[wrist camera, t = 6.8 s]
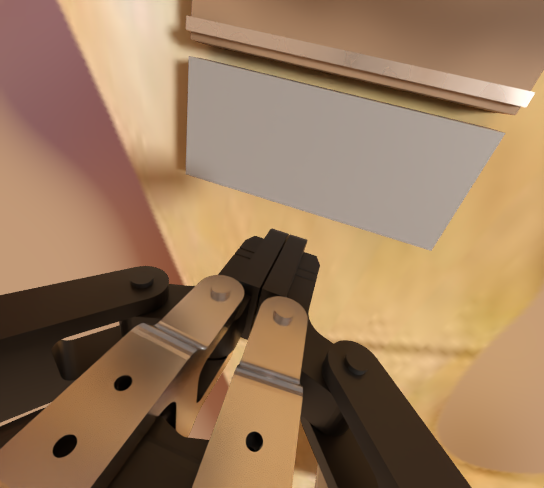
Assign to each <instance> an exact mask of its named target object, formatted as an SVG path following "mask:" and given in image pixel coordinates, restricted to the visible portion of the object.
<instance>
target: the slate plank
mask: <svg viewBox="0 0 544 488" xmlns="http://www.w3.org/2000/svg"><path fill="white" fill-rule="evenodd" d="M504 135H505V133H503V132H500V131H497V130H494V129H491V128H487V127H483V126H479V125H474V124H470V123H466V122H462V121H458V120H454V119H450V118H446V117H442V116H437V115H433V114H429V113H425V112H421V111H417V110H413V109H409V108H405V107H400V106H396V105H392V104H388V103H384V102H380V101H376V100H372V99H368V98H363V97H359V96H355V95H351V94H347V93H343V92H339V91H335V90H330V89H326V88H322V87H318V86H314V85H310V84H306V83H302V82H298V81H293V80H289V79H285V78H281V77H277V76H273V75H269V74H265V73H261V72H256V71H252V70H248V69H244V68H240V67H236V66H232V65H228V64H224V63H219V62H215V61H211V60H207V59H202V58H196V57H191V56H189V71H188V108H187V146H186V174H187V175H190V176H193V177H197V178H200V179H203V180H206V181H209V182H213V183H216V184H219V185H222V186H225V187H229V188H232V189H235V190H238V191H241V192H245V193H248V194H251V195H254V196H257V197H261V198H264V199H267V200H270V201H273V202H277V203H280V204H283V205H286V206H290V207H293V208H296V209H299V210H302V211H306V212H309V213H312V214H315V215H318V216H322V217H325V218H328V219H331V220H334V221H338V222H341V223H344V224H347V225H350V226H354V227H357V228H360V229H363V230H366V231H370V232H373V233H376V234H379V235H382V236H386V237H389V238H392V239H395V240H399V241H402V242H405V243H408V244H411V245H415V246H418V247H421V248H424V249H427V250H432V249H433V247H434V246H435V244H436V242H437V241H438V239H439V238H440V236H441V235H442V233H443V231H444V230H445V228H446V227H447V225H448V223H449V222H450V220H451V219H452V217H453V216H454V214H455V212H456V211H457V209H458V208H459V206H460V204H461V203H462V201H463V200H464V198H465V197H466V195H467V193H468V192H469V190H470V189H471V187H472V185H473V184H474V182H475V181H476V179H477V177H478V176H479V174H480V173H481V171H482V170H483V168H484V166H485V165H486V163H487V162H488V160H489V158H490V157H491V155H492V154H493V152H494V151H495V149H496V147H497V146H498V144H499V143H500V141H501V139H502V138H503V136H504Z"/></svg>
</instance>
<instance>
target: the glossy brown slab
mask: <svg viewBox="0 0 544 488" xmlns="http://www.w3.org/2000/svg"><path fill="white" fill-rule="evenodd" d="M186 30H188V31H191V38H190V39H191V40H194V41H197V42H200V43H203V44H207V45H210V46H215V47H219V48H223V49H227V50H232V51H236V52H240V53H244V54H249V55H253V56H257V57H262V58H266V59H270V60H274V61H279V62H283V63H287V64H291V65H296V66H300V67H304V68H308V69H313V70H317V71H321V72H325V73H330V74H334V75H338V76H342V77H347V78H351V79H355V80H360V81H364V82H368V83H372V84H377V85H381V86H385V87H389V88H394V89H398V90H402V91H406V92H411V93H415V94H419V95H423V96H428V97H432V98H436V99H440V100H445V101H449V102H453V103H458V104H462V105H466V106H470V107H475V108H479V109H483V110H487V111H492V112H496V113H502V114H510V115H516V114H517V112H518V110H519V109H520V107H527V105H528V104H529V102H530V100H531V99H532V97H533V96H534V94H535V92H531V89H532V88H533V86H534V85H535V83H536V81H537V80H538V78H539V76H540V75H541V73H542V72H543V70H544V0H192V11H191V16H187V15H186Z"/></svg>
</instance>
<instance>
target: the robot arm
mask: <svg viewBox="0 0 544 488" xmlns="http://www.w3.org/2000/svg"><path fill="white" fill-rule="evenodd" d="M306 244H307V240H306V239H303V238H300V237H297V236H293V235H289V234H287V233H284V232H281V231H278V230H275V229H270V231H269V232H268V234H267V235H266V237H265V238H264V239H263V238H260V237H257V236H254V237H251V238H249V239H247V240H245V241H244V243H243V244H242V245H241V246H240V248H239V249H238V250H237V251H236V253H235V255H233V257H232V258H231V259H230V260H229V262H228V263H227V264H226V265H225V267H224V268H223V269H222V270H221V272H220V273H219V274H218V275H213V276H209V277H206V278H204V279H203V280H201V281H200V282H199V283H198V284H197V285H196V286H184V285H174V284H169V278H168V275H167V274H166V273H165V272H164V271H163V270H161V269H158V268H156V267H150V266H140V267H134V268H129V269H124V270H120V271H115V272H110V273H105V274H101V275H96V276H91V277H86V278H82V279H76V280H72V281H67V282H62V283H57V284H52V285H48V286H43V287H38V288H33V289H28V290H23V291H19V292H14V293H9V294H4V295H0V422H3V421H5V420H8V419H10V418H13V417H15V416H18V415H20V414H23V413H25V412H28V411H30V410H33V409H35V408H38V407H40V406H43V405H45V404H48V403H50V402H51V403H50V404H49V405H48V406H47V407H46V408H43V409H40V410H38V411H35V412H33V413H30V414H28V415H26V416H24V417H21V418H19V419H17V420H15V421H12V422H10V423H8V424H5V425H3V426H1V427H0V488H292V482H293V474H294V465H295V457H296V449H297V440H298V432H299V424H300V419H301V423H302V426H303V429H304V431H305V433H306V436H307V438H308V441H309V443H310V445H311V448H312V450H313V453H314V455H315V458H316V460H317V462H318V465H319V467H320V470H321V472H322V474H323V477H324V479H325V482H326V484H327V487H328V488H471V486H470V485H469V484H468V482H467V481H466V479H465V478H464V477H463V475H462V474H461V473H460V471H459V470H458V469H457V467H456V466H455V464H454V463H453V462H452V460H451V459H450V458H449V456H448V455H447V454H446V452H445V451H444V449H443V448H442V447H441V445H440V444H439V443H438V441H437V440H436V439H435V437H434V436H433V434H432V433H431V432H430V430H429V429H428V428H427V426H426V425H425V424H424V422H423V421H422V419H421V418H420V417H419V415H418V414H417V413H416V411H415V410H414V409H413V407H412V406H411V404H410V403H409V402H408V400H407V399H406V398H405V396H404V395H403V394H402V392H401V391H400V389H399V388H398V387H397V385H396V384H395V383H394V381H393V380H392V379H391V377H390V376H389V374H388V373H387V372H386V370H385V369H384V368H383V366H382V365H381V364H380V362H379V361H378V359H377V358H376V357H375V356H374V354H373V353H372V352H370V351H369V350H368V349H367V348H366V347H364V346H362V345H360V344H358V343H356V342H353V341H346V340H343V341H339V342H336V343H334V344H333V343H332V342H330V341H329V340H327V339H326V338H324V337H323V336H322V335H320V334H319V333H318V332H317V331H316V330H315V328H314V327H313V326H312V324H311V322H310V320H309V316H308V311H309V307H310V303H311V299H312V295H313V291H314V287H315V282H316V279H317V274H318V271H319V267H320V264H319V262H318V259H317V256H314V255H311V254H308V253H305V252H304V250H305V247H306ZM118 321H119V323H120V325H119V326H116V327H113V328H110V329H107V330H103V331H100V332H97V333H94V334H90V335H87V336H84V337H81V338H77V339H74V340H68V341H65V340H61V339H63V338H66V337H69V336H72V335H76V334H79V333H82V332H85V331H88V330H92V329H95V328H99V327H102V326H105V325H109V324H112V323H115V322H118ZM249 336H250V337H249ZM240 337H242V338H244V339H247V340H248V342H247V345H246V348H245V351H244V353H243V356H242V359H241V361H240V364H239V365H237V367H236V370H235V372H234V375H233V377H232V380H231V383H230V386H229V388H228V391H227V394H226V396H225V399H224V402H223V405H222V408H221V410H220V413H219V416H218V418H217V421H216V424H215V427H214V429H213V432H212V435H211V437H210V440H203V439H195V438H188V436H189V434H190V432H191V429H192V427H193V425H194V422H195V419H196V417H197V414H198V412H199V410H200V408H201V407H202V405H203V403H204V402H205V400H206V398H207V397H208V395H209V393H210V392H211V390H212V388H213V387H214V385H215V383H216V382H217V380H218V378H219V377H220V375H221V373H222V372H223V370H224V368H225V367H226V365H227V363H228V362H229V360H230V358H231V356H232V353H233V350H234V348H235V347H236V345H237V343H238V341H239V339H240ZM248 338H249V339H248Z"/></svg>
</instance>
